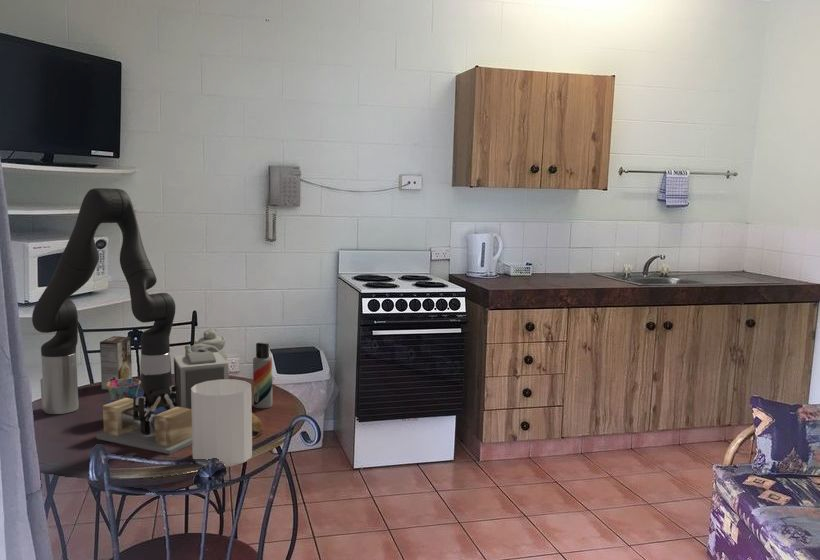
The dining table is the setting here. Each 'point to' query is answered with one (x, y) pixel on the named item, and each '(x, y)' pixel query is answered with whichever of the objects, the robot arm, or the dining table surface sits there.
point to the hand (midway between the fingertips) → (157, 429)
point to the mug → (123, 389)
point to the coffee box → (115, 359)
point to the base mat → (143, 441)
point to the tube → (128, 420)
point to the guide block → (116, 417)
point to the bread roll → (256, 426)
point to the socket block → (173, 426)
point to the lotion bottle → (262, 377)
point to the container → (222, 421)
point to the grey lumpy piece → (208, 344)
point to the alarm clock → (197, 372)
